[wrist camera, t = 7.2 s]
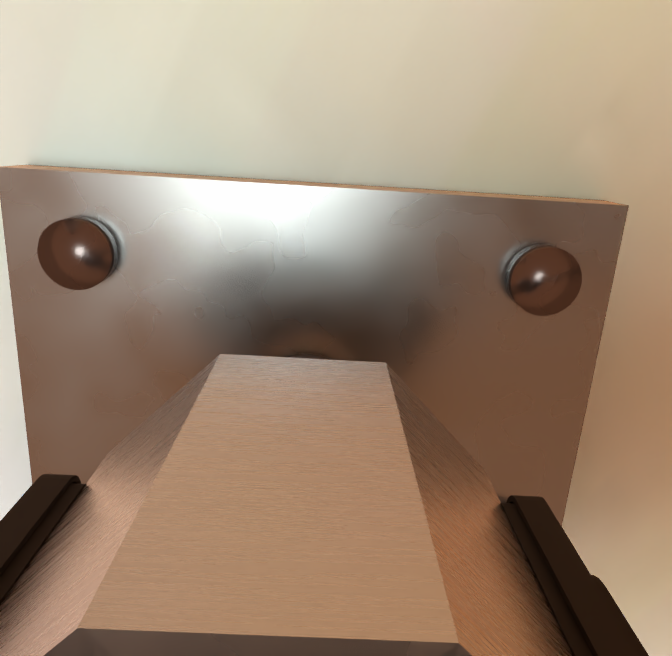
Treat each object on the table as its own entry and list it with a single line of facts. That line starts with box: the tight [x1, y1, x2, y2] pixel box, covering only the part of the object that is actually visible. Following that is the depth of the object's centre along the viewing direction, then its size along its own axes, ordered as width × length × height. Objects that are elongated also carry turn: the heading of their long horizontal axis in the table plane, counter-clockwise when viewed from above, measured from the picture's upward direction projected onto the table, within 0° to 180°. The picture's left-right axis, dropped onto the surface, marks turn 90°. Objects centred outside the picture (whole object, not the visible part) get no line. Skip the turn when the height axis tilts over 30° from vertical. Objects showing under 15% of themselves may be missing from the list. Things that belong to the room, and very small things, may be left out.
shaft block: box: [0, 165, 629, 526], centre depth 15 cm, size 16×12×7 cm
